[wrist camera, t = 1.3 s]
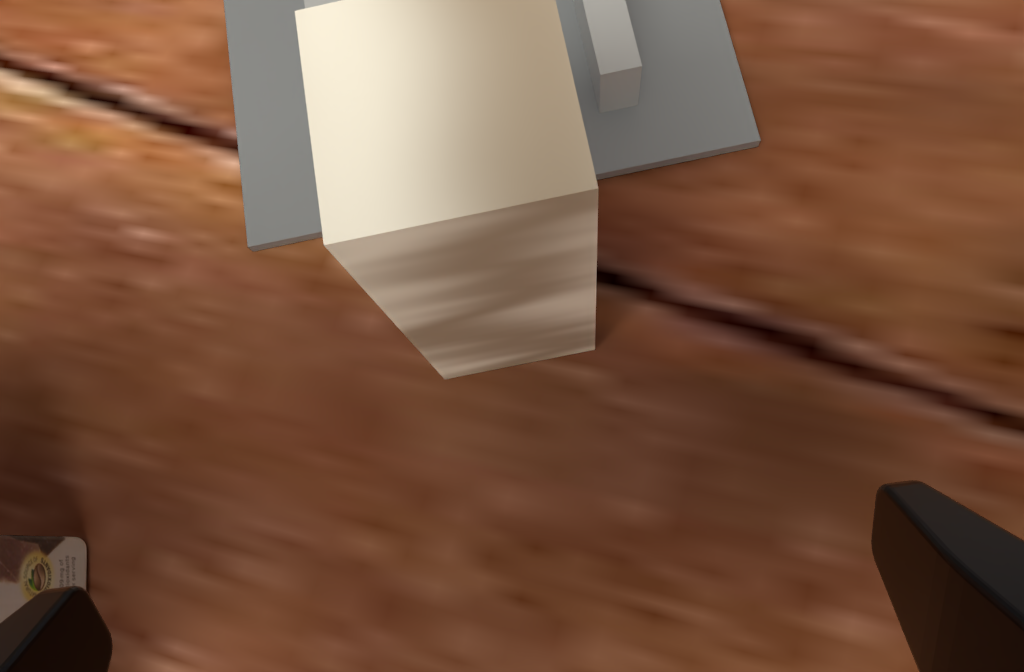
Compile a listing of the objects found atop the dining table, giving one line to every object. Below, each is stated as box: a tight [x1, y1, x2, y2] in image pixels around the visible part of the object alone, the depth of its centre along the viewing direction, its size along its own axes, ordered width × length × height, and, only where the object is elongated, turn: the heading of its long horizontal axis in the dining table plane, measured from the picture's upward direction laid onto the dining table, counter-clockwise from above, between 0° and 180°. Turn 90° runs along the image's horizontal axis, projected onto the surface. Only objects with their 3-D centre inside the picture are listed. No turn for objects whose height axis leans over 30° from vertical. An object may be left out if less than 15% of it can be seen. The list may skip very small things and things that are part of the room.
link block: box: [295, 0, 598, 379], centre depth 19 cm, size 4×5×11 cm
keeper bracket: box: [224, 0, 761, 251], centre depth 24 cm, size 16×10×4 cm, turn 100°
